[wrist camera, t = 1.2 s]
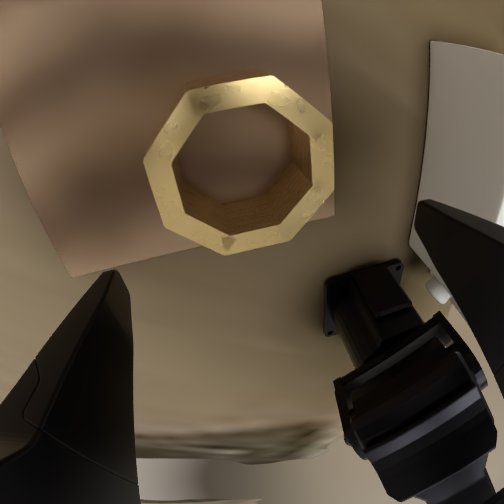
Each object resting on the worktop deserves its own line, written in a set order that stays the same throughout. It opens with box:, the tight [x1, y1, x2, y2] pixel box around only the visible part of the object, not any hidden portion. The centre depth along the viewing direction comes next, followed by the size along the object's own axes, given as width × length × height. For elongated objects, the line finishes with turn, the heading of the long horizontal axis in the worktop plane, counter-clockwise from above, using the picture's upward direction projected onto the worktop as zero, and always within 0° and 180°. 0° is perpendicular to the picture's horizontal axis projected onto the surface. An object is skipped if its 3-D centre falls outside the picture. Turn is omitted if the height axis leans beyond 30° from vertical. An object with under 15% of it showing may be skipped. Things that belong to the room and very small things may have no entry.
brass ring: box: [143, 70, 334, 256], centre depth 13 cm, size 7×7×3 cm
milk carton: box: [409, 41, 504, 325], centre depth 16 cm, size 7×7×19 cm
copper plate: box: [0, 0, 334, 277], centre depth 12 cm, size 20×16×1 cm
